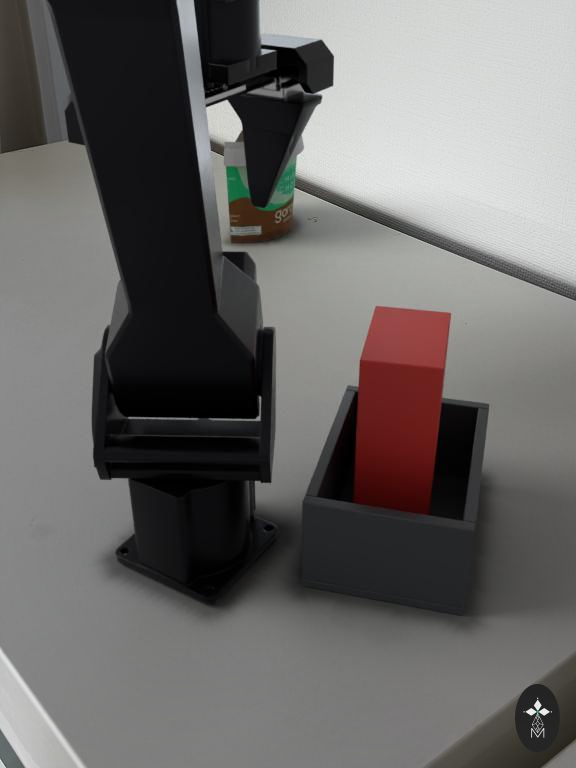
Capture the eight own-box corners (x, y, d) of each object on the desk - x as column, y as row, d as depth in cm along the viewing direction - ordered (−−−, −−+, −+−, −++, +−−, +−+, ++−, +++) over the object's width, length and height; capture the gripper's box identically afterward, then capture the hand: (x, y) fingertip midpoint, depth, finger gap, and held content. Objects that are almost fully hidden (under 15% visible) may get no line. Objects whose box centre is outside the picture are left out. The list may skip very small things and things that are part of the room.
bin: (462, 616, 43) (474, 530, 40) (301, 586, 45) (301, 502, 42) (478, 480, 52) (489, 403, 49) (344, 460, 54) (347, 384, 51)
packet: (351, 535, 47) (359, 359, 41) (366, 470, 52) (375, 305, 46) (425, 546, 46) (444, 368, 41) (433, 478, 51) (451, 312, 46)
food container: (290, 253, 82) (290, 147, 77) (226, 248, 83) (222, 143, 78) (313, 208, 92) (314, 112, 87) (256, 204, 93) (254, 109, 88)
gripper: (191, -67, 57) (204, 168, 65) (-36, -40, 43) (16, 252, 51) (341, -59, 52) (334, 194, 60) (136, -26, 38) (164, 295, 46)
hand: (219, 228), depth 55 cm, fingers open, 9 cm apart
